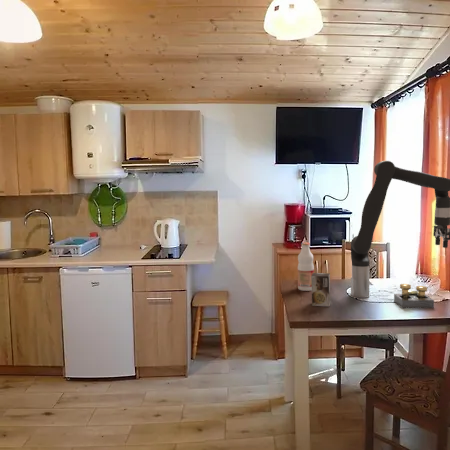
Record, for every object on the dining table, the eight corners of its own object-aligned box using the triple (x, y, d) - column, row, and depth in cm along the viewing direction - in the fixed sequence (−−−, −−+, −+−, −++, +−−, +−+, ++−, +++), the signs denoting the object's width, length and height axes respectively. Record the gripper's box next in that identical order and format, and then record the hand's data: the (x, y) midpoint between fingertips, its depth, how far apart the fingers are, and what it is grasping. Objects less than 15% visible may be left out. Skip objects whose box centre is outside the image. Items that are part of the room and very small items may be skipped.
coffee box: (330, 303, 213) (330, 273, 211) (329, 306, 207) (329, 276, 205) (313, 302, 216) (312, 272, 214) (311, 305, 210) (311, 275, 208)
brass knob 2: (418, 301, 203) (418, 288, 202) (414, 298, 208) (414, 285, 207) (428, 301, 203) (428, 288, 202) (424, 298, 208) (424, 285, 207)
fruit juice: (295, 287, 245) (294, 242, 242) (310, 286, 247) (309, 241, 244) (302, 291, 236) (301, 244, 233) (316, 290, 238) (316, 243, 235)
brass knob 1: (402, 299, 204) (402, 286, 203) (398, 296, 208) (398, 283, 208) (412, 299, 203) (412, 286, 202) (408, 296, 208) (408, 283, 207)
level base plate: (402, 308, 200) (402, 297, 200) (394, 301, 212) (394, 290, 212) (433, 308, 199) (433, 296, 199) (423, 300, 211) (423, 290, 211)
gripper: (429, 215, 222) (428, 244, 223) (441, 217, 207) (440, 248, 209) (443, 214, 221) (442, 244, 223) (456, 217, 207) (455, 248, 209)
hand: (441, 246), depth 216 cm, fingers open, 8 cm apart
